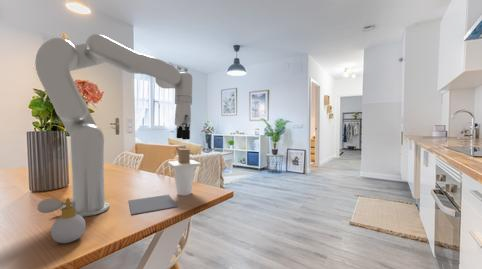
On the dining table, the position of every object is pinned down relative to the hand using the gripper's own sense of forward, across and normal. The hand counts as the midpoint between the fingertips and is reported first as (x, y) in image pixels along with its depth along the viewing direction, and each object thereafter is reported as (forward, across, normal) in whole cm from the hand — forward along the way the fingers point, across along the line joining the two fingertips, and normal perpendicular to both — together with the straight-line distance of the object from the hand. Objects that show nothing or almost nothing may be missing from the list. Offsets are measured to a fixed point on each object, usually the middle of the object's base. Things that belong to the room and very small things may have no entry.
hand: (182, 138), depth 102 cm
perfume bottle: (+26, +27, -39) cm, 54 cm away
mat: (+25, +8, -14) cm, 30 cm away
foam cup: (+25, 0, +1) cm, 25 cm away
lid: (+12, 0, +1) cm, 12 cm away
